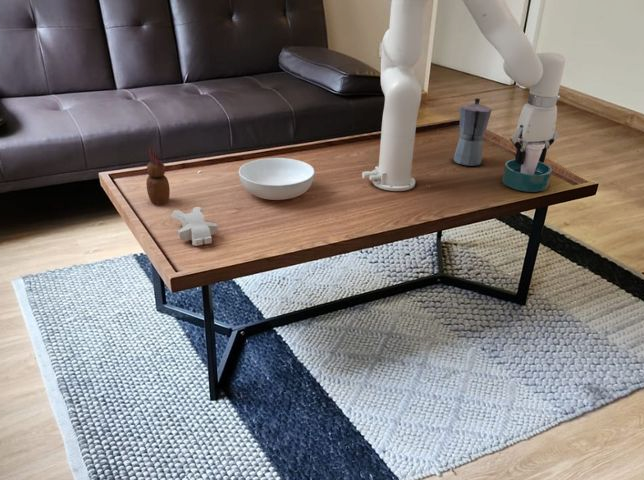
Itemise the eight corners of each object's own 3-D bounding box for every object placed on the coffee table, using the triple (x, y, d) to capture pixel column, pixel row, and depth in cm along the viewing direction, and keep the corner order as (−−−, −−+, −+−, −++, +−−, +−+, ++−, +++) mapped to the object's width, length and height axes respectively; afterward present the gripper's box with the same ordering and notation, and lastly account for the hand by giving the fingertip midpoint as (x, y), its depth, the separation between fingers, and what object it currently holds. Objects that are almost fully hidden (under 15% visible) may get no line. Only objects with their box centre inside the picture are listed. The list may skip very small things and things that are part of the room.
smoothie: (540, 173, 190) (551, 127, 183) (534, 180, 186) (545, 132, 178) (519, 168, 193) (529, 122, 186) (512, 175, 188) (522, 128, 181)
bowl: (517, 195, 184) (521, 177, 181) (493, 178, 195) (496, 160, 192) (556, 190, 188) (561, 173, 185) (531, 174, 198) (534, 157, 195)
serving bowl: (322, 184, 187) (323, 161, 183) (301, 213, 169) (301, 189, 166) (255, 175, 191) (254, 153, 187) (227, 203, 174) (226, 179, 170)
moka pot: (480, 155, 211) (490, 93, 201) (485, 172, 198) (497, 108, 188) (451, 153, 212) (459, 92, 201) (454, 170, 199) (464, 106, 188)
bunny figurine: (183, 236, 148) (166, 204, 158) (184, 254, 151) (168, 222, 161) (222, 229, 151) (204, 198, 162) (223, 247, 155) (204, 216, 165)
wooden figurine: (146, 198, 175) (140, 145, 167) (168, 195, 177) (162, 142, 169) (150, 208, 170) (143, 153, 162) (172, 205, 171) (167, 151, 163)
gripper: (560, 94, 183) (547, 155, 193) (507, 98, 179) (496, 160, 188) (577, 102, 177) (562, 164, 187) (522, 106, 173) (510, 169, 182)
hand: (529, 161), depth 187 cm, fingers closed on smoothie, 6 cm apart
